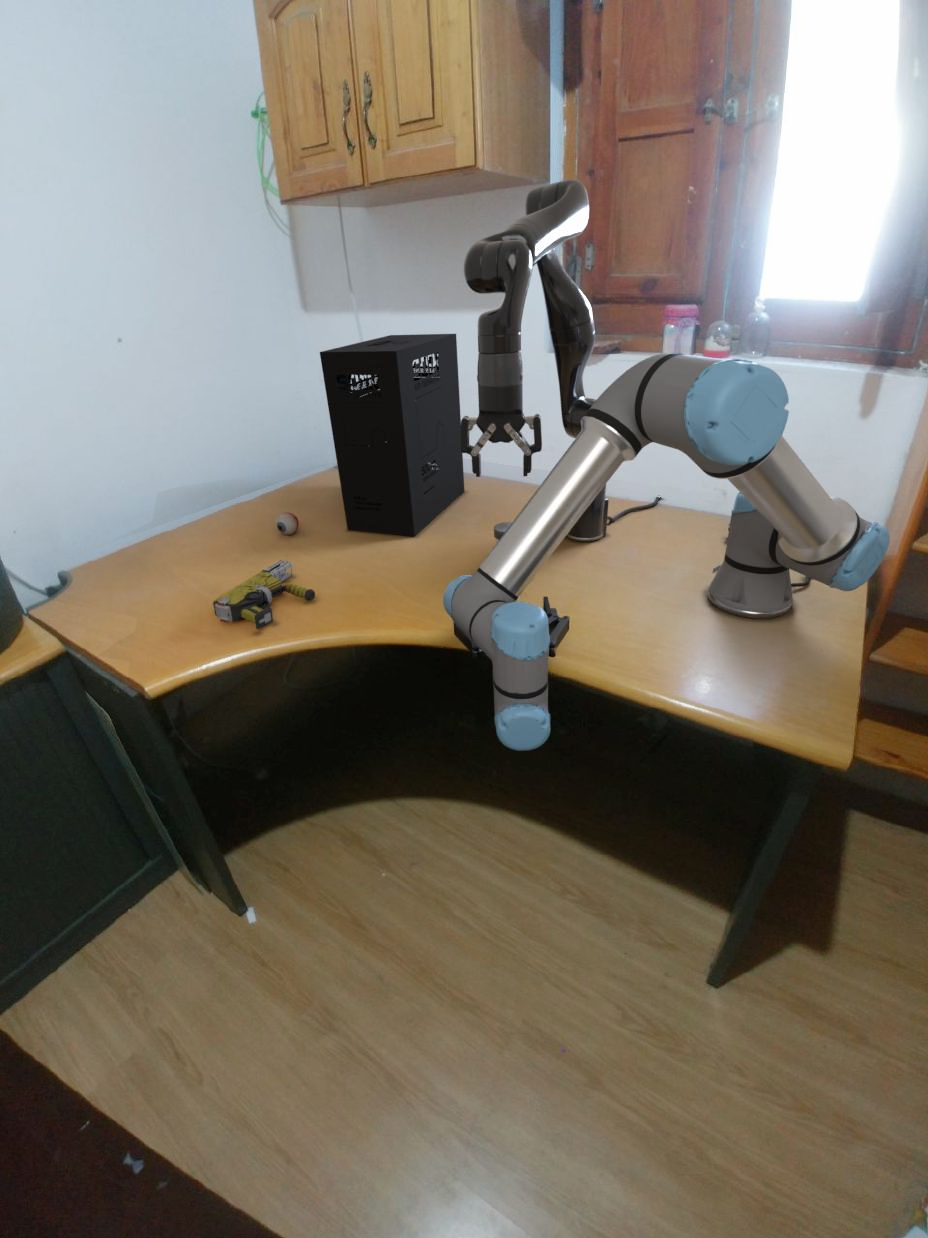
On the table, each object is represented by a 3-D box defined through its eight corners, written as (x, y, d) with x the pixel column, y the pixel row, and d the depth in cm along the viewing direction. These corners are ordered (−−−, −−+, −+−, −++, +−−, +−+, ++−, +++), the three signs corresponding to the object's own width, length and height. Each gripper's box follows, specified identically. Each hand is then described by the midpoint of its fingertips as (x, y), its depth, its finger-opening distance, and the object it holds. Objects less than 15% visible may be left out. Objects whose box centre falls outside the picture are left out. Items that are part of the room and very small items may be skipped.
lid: (494, 541, 112) (493, 532, 112) (493, 530, 117) (493, 522, 116) (521, 540, 112) (521, 531, 111) (520, 529, 117) (520, 521, 116)
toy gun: (335, 569, 136) (278, 557, 140) (271, 616, 116) (207, 600, 120) (336, 587, 139) (280, 575, 142) (274, 637, 118) (211, 621, 122)
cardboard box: (406, 487, 196) (390, 335, 173) (464, 491, 189) (456, 333, 167) (347, 529, 166) (319, 351, 143) (414, 536, 159) (396, 350, 136)
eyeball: (273, 537, 164) (268, 516, 161) (287, 528, 169) (282, 508, 166) (291, 539, 161) (286, 518, 158) (305, 530, 166) (301, 510, 163)
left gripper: (543, 375, 103) (541, 469, 112) (461, 378, 106) (465, 470, 114) (542, 382, 97) (540, 481, 105) (455, 385, 99) (460, 482, 107)
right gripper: (438, 691, 96) (443, 624, 115) (595, 686, 95) (575, 619, 114) (434, 652, 93) (440, 589, 111) (598, 646, 92) (576, 583, 110)
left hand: (501, 475), depth 109 cm, fingers open, 8 cm apart
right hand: (508, 604), depth 112 cm, fingers open, 13 cm apart
